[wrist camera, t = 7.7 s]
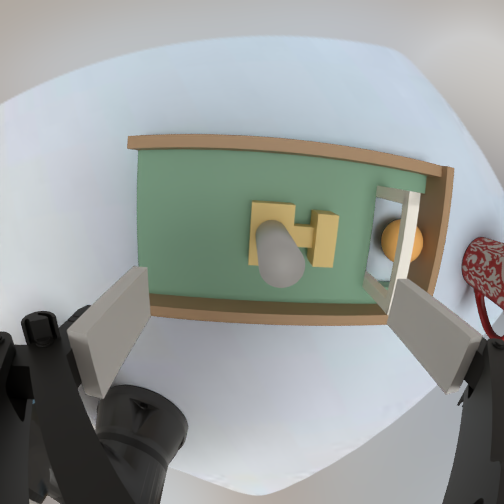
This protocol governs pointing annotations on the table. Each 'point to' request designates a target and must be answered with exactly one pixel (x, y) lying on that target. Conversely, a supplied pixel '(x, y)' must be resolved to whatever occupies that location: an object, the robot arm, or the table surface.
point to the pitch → (306, 199)
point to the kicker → (289, 241)
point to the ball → (391, 239)
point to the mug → (485, 276)
